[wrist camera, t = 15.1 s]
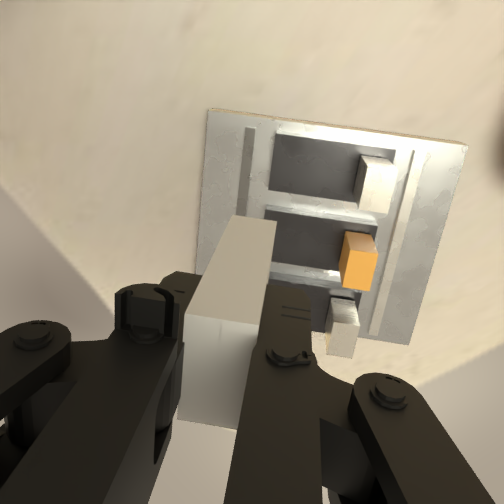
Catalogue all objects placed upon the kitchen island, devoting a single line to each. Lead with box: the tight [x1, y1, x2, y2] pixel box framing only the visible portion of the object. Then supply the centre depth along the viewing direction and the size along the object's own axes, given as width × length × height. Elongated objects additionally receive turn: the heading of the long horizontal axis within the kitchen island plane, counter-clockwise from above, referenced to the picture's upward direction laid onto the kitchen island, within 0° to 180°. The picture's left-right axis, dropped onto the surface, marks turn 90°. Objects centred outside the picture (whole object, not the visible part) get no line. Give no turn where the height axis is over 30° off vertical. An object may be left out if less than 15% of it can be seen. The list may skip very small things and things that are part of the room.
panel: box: [195, 108, 468, 359], centre depth 37 cm, size 20×18×8 cm
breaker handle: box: [339, 231, 378, 291], centre depth 35 cm, size 2×3×4 cm, turn 173°
